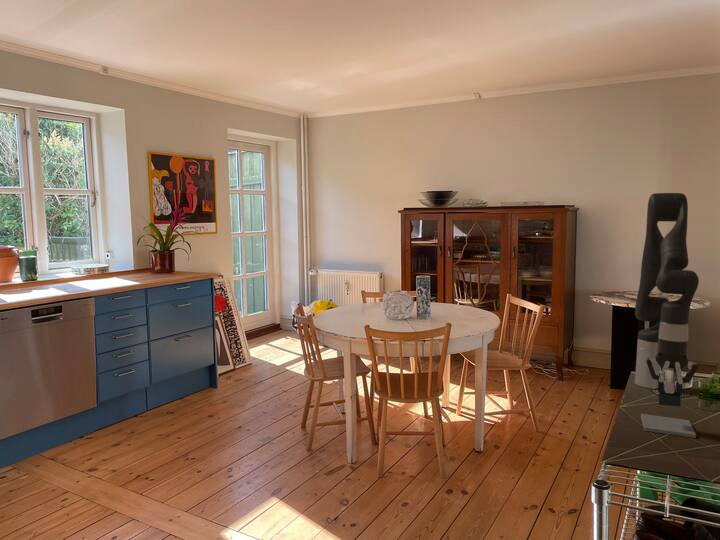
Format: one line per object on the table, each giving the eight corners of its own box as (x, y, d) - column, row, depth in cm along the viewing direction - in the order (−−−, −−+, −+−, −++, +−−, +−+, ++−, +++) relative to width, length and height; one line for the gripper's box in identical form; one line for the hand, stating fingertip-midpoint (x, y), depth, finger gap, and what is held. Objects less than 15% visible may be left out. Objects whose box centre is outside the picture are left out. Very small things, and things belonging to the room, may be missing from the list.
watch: (681, 400, 163) (680, 364, 162) (680, 408, 156) (679, 371, 155) (659, 398, 166) (659, 363, 165) (658, 406, 159) (657, 369, 158)
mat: (640, 416, 170) (640, 413, 170) (688, 423, 165) (688, 420, 165) (644, 430, 159) (644, 427, 159) (695, 438, 154) (696, 434, 154)
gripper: (698, 337, 160) (694, 393, 161) (644, 332, 165) (641, 387, 167) (703, 342, 153) (699, 401, 155) (647, 337, 158) (643, 395, 160)
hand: (669, 394), depth 161 cm, fingers closed on watch, 3 cm apart
